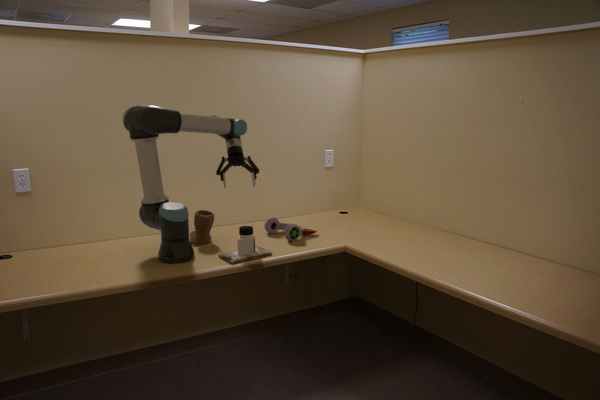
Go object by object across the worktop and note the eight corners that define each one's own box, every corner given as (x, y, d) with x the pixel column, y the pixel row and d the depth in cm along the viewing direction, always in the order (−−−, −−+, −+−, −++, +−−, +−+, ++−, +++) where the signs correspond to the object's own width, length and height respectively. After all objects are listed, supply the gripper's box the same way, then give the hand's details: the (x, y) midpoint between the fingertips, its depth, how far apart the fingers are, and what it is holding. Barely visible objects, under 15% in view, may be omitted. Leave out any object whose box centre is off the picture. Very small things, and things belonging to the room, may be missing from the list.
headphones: (262, 219, 228) (293, 209, 240) (265, 237, 231) (294, 226, 243) (286, 227, 213) (317, 216, 225) (288, 246, 216) (319, 234, 228)
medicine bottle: (254, 255, 194) (253, 228, 191) (237, 255, 193) (237, 228, 191) (255, 249, 201) (254, 224, 198) (239, 250, 200) (238, 224, 198)
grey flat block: (232, 264, 186) (231, 259, 186) (218, 256, 195) (218, 252, 195) (271, 254, 198) (271, 250, 198) (257, 247, 207) (257, 243, 207)
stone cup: (216, 244, 213) (215, 213, 210) (190, 246, 210) (188, 215, 207) (213, 235, 227) (212, 206, 224) (189, 237, 224) (188, 207, 221)
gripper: (259, 154, 225) (265, 188, 214) (208, 155, 219) (212, 191, 208) (260, 144, 219) (267, 179, 208) (209, 145, 212) (212, 181, 201)
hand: (239, 185), depth 208 cm, fingers open, 13 cm apart
